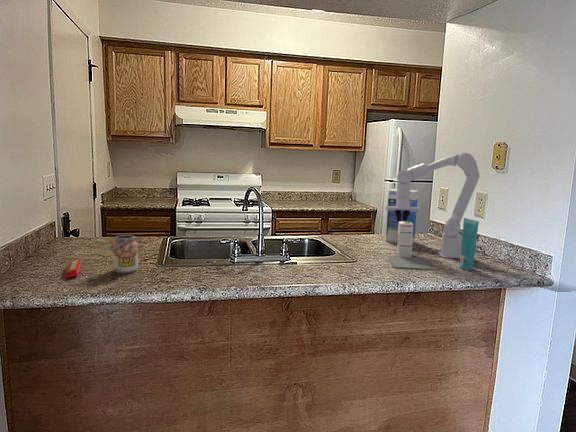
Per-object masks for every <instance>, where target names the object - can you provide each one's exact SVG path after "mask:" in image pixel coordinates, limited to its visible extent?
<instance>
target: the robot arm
mask: <svg viewBox="0 0 576 432" xmlns="http://www.w3.org/2000/svg"><path fill="white" fill-rule="evenodd" d="M447 166H448V167H449V166H452V167H457V166H458V167H459V168H460V169H461V170H462V171H463V173H464V175H465V181H464V184H463V187H462V189H461V191H460V193H459V195H458V198H457V200H456V202H455V204H454V208H453V210H452V212H451V215H450V217H449V219H447V221H445V224H444V225H443V228H442V229H443V233H442V234H441V245H440V246H441V248H440V251H437V254H438V255H439V256H441V257H442V258H450V259H460V256H461V246H462V235H461V234H460V233H459V232H460V229H461V223H462V221H463V220H462V219H463V217H464V214H465V213H466V210H467V207H468V205H469V203H470V201H471V198H472V196H473V193H474V192H475V189H476V187H477V185H478V182H479V179H480V177H481V175H480V172H479V171H480V170H479V167H478V164H477V160H476V159H475V158H474V156H473V154H471V153H468V152H463V153H460V154H454V155H450V156H446V157H444V158H441V159H439V160H436V161H434V162H431V163H429V164H427V163H425V162H423V163H421V162H419V163H417V164H415V165H413V166H412V167H409V166H408V167H406V169H402V170H400V171H399V172H398V173H397V176H396V178H397V188H396V189H397V199H396V206H388V205H385V212H388V211H395V214H396V217H397V221H398V226H399V222H401V215H402V221H406V220H407V218H408V216H409V215H410V212H416V213H420V207H419V206H417V207H409V203H410V190H412V189H411V188H412V187H411V182H412V181H416V180H418V179H421V178H425V177H427V176H428V177H429V174H430V172H432V171H436V170H439V169H441V168H444V167H447ZM398 209H401V210H398ZM401 211H403V212H402V213H401Z"/></svg>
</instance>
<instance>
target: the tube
mask: <svg viewBox="0 0 576 432" xmlns="http://www.w3.org/2000/svg"><path fill="white" fill-rule="evenodd" d="M462 221H463V223H462V235H461V236H462V246H461V256H460V258H459V259H460V260H459V268H460V269H462V270H466V271H472V270H474V267H475V266H474V264H475V255H476V245H477V238H478V230H479V224H480V223H479V222H480V221H479V220H474V219H471V218H466V217H464V218H463V220H462Z"/></svg>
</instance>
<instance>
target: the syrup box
mask: <svg viewBox="0 0 576 432" xmlns="http://www.w3.org/2000/svg"><path fill="white" fill-rule="evenodd" d="M412 240H413V223H412V222H406V221H401V222H399V226H398V242H397V243H396V245H397V246H396V255H397V257H412V255H413V252H412V251H413V244H412Z"/></svg>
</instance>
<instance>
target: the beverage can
mask: <svg viewBox="0 0 576 432" xmlns="http://www.w3.org/2000/svg"><path fill="white" fill-rule="evenodd" d="M138 247H139V246H138V242H137V241H136V237H135V235H132V234H127V235H126V234H123V235H117V236H114V242H112V243H111V244H110V245H109V247H108V250H109V251H112V268H113V271H114V272H115V273H117V274H131V273H134V272H137V270H138V269H139V248H138Z"/></svg>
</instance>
